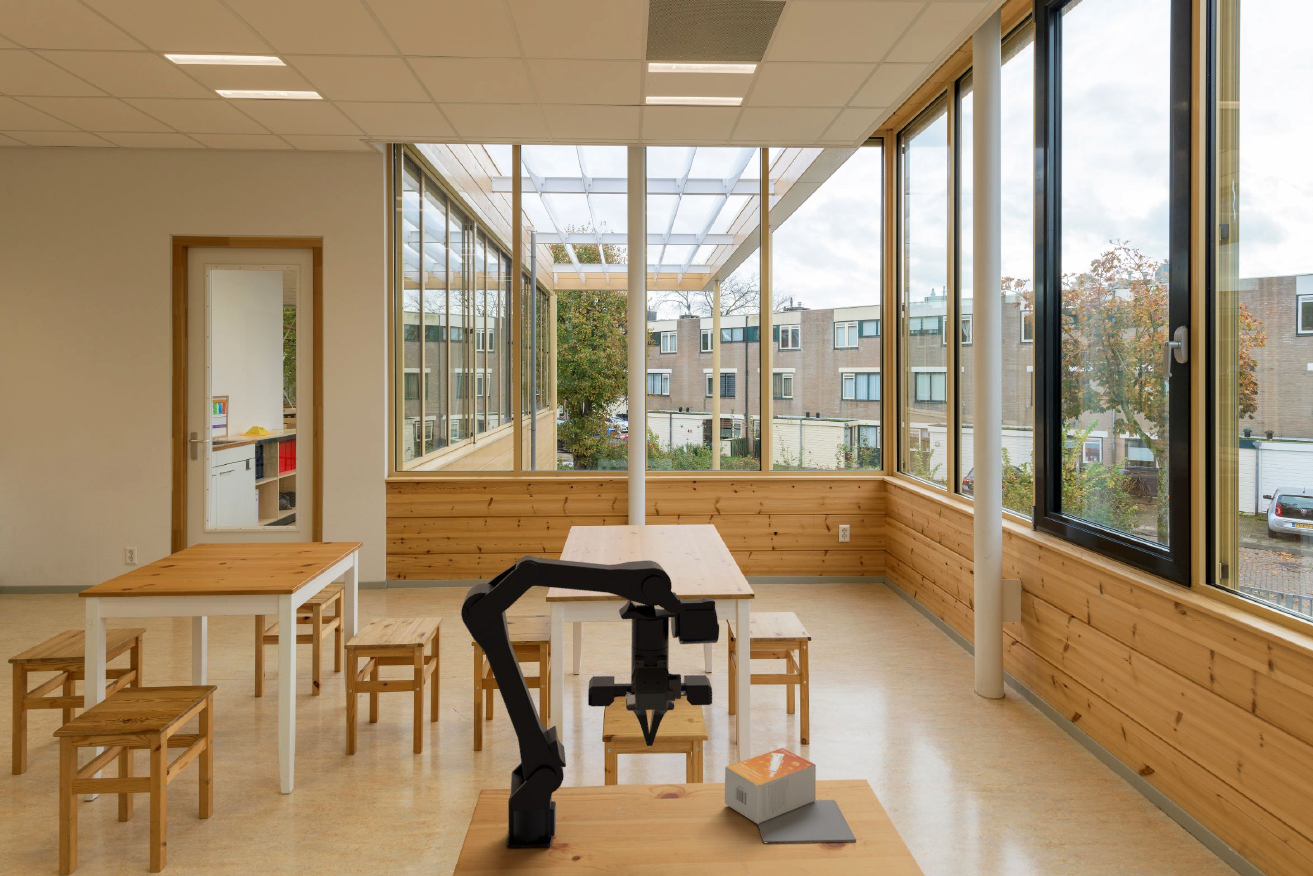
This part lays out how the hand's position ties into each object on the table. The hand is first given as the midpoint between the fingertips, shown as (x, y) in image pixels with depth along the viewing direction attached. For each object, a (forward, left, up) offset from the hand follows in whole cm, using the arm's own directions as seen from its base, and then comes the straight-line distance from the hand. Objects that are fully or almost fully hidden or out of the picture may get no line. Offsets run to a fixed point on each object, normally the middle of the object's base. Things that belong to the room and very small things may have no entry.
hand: (649, 745), depth 123 cm
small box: (+14, +3, -10) cm, 18 cm away
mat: (+24, +1, -13) cm, 27 cm away
